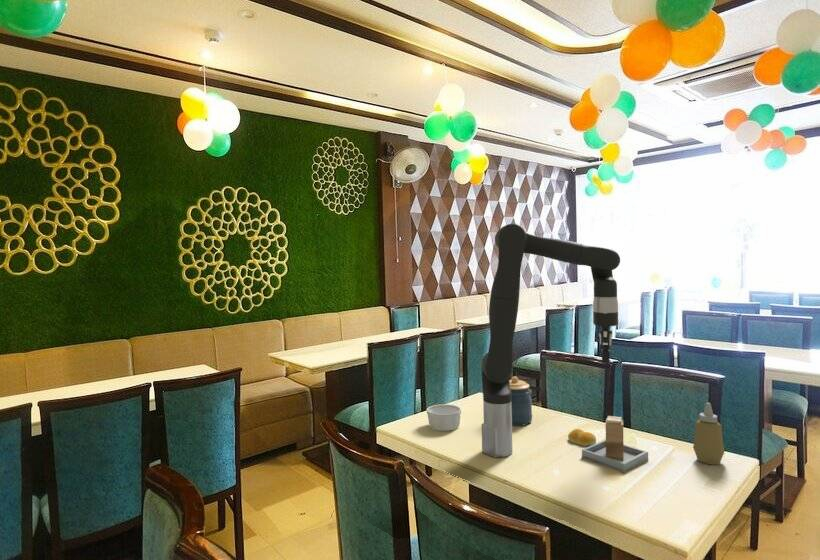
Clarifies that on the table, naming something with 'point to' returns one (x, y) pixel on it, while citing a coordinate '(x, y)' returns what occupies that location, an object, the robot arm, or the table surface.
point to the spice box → (614, 438)
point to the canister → (520, 402)
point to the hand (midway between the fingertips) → (605, 359)
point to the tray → (630, 459)
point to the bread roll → (582, 437)
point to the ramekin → (444, 417)
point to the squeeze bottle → (708, 438)
